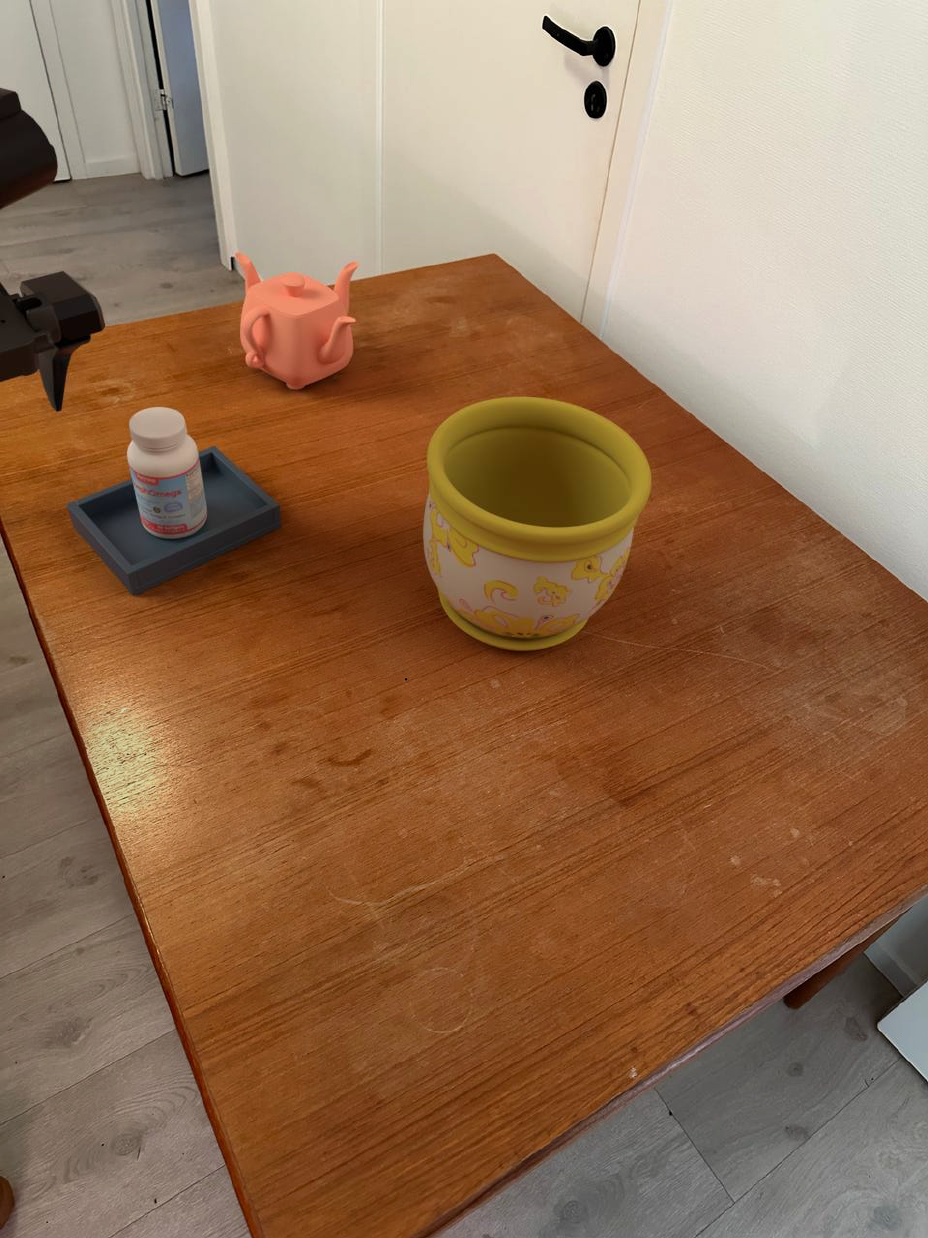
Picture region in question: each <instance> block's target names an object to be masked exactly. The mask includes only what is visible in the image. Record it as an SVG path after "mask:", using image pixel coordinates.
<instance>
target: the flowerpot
mask: <svg viewBox="0 0 928 1238" xmlns="http://www.w3.org/2000/svg"><path fill="white" fill-rule="evenodd" d="M426 467H427V472H428V488H429V490H428V495H427V499H426V503H425V509H424V514H423V525H422V536H423V537H422V543H423V551H424V557H425V562H426V565H427V568H428V571H429V575H430V576H431V579H432V581H433V582H434V585H435V586H436V588H437V593H438V598H439V602H440V604H441V606H442V608H443V610H444V612H445V614H446V615H447V616H448V618H449V619H450V620H451V622H453V623H454V624H455V626H457V627H458V628H459V629H460V630H461V631H463V632H464V633H466V634H467V635H468V636H470V637H472V638H474V639H476V640H478V641H479V642H481V643H484V644H485V645H488V646H490V647H494V648H496V649H501V650H506V651H512V652H513V651H514V652H515V651H516V652H528V651H529V652H530V651H536V650H542V649H543V650H544V649H547V648H552V647H555V646H557V645H560V644H563V643H564V642H567V641H568V640H570V639H572V638H573V637H574V636H575V635H577V634H578V633H579V632H580V631H581V630H582V629H583V628H584V627H585V625H586V624H587V622H588V620H589V619H590V617H591V616H592V615H594V614H595V613H596V612H597V611H599V609H601V608H602V606H603V605H604V604H605V603H606V602H607V600H609V598H610V597H611V595H612V594H613V593H614V591H615V589H616V588H617V586H618V584H619V583H620V581H621V578H622V576H623V573H624V572H625V568H626V566H627V563H628V559H629V555H630V552H631V548H632V544H633V543H632V542H633V537H634V529H635V526H636V524H637V522H638V519H639V516H640V514H641V513H642V511H643V510H644V508H645V507H646V505H647V503H648V500H649V497H650V494H651V489H652V472H651V467H650V464H649V461H648V459H647V457H646V455H645V453H644V451H643V450H642V449H641V447H640V446H639V445H638V443H637V442H636V441H635V439H633V437H631V435H629V434H628V432H627V431H625V430H623V429H622V427H620V426H618V425H617V424H615V423H614V422H612V421H611V420H609V419H608V418H606V417H604V416H603V415H601V414H598V413H596V412H595V411H592V410H589V409H587V408H584V407H582V406H579V405H576V404H572V403H569V402H565V401H560V400H556V399H552V398H551V399H550V398H545V397H535V396H507V397H498V398H492V399H491V398H490V399H487V400H482V401H479V402H476V403H473V404H470V405H468V406H465V407H463V408H461V409H459V410H458V411H456V412H454V413H452V414H451V415H449V416H448V417H447V418H446V419H445V420H443V421H442V423H441V424H440V425H439V426H438V427H437V428H436V429H435V431H434V433H433V434H432V437H431V438H430V441H429V444H428V447H427V452H426Z"/></svg>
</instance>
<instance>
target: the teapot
mask: <svg viewBox="0 0 928 1238" xmlns="http://www.w3.org/2000/svg"><path fill="white" fill-rule="evenodd" d="M234 256H235V258H236V260H237V262H238V263H239V265H240V266H241V269H242V272H243V276H244V285H245V297H244V301H243V305H242V310H241V316H240V327H239V331H240V332H239V336H240V337H239V338H240V344H241V345H242V348H243V350H244V352H245V354H246V355H245V364H246V365H247V367H248V368H250V369H253V370H259V369H260V370H262V371H263V372H265V373H266V374H268V375H269V376H271V377H273V378H275V379H277V380H280V381H282V382H284V383H286V386H287V388H289V389H290V390H300V389H303V388H304V387H306V386H307V385H310V384H313V383H315V382H318V381H321V380H323V379H326V378H327V377H330V376H332V375H334V374H335V373H338V372H339V371H341V370H343V369H344V368H345V367H347V366H348V364H349V363H350V361H351V359H352V356H353V353H354V340H353V339H354V338H353V334H352V328H351V324H353V323H355V322H356V318H354V317H353V316H352V317H351V316H348V314H349V311H350V310H349V309H350V285H351V284H350V283H351V280H352V277H353V275H354V273H355V271H356V270H357V268H358V267H359V266H360V262H359V261H352V262H349V263H347V264H345V266H343V267H342V269H341V270H340V272H339V273H338V276H337V278H336V281H335V284H334V288H333V289H332V288H330V287H329V286H327V285H326V284H324V283H323V282H321V281H319V280H317V279H315V278H313V277H310V276H308V275H305V274H303V273H300V272H296V271H290V272H285V273H282V274H279V275H276V276H272V277H270V278H267V279H265V280H261V278H260V276H259V273H258V271H257V269H256V267H255V265H254V263H253V262H252V260H251V259H250V258H249V257H247V256H246V255H245V254H243V253H240V252H236V253H235V254H234Z"/></svg>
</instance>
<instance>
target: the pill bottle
mask: <svg viewBox="0 0 928 1238" xmlns="http://www.w3.org/2000/svg"><path fill="white" fill-rule="evenodd" d="M128 429H129V431H130V432H129V435H130V438H131V440H130V443H129V444H128V447H127V450H126V451H127V452H126V458H127V464H128V467H129V472H130V476H131V478H132V481H133V485H134V490H135V494H136V498H137V503H138V507H139V512H140V516H141V520H142V524H143V526H144V527H145V529H146V530H147V531H148V532H149V533H151V534H153V535H154V536H157V537H160V538H165V539H179V538H184V537H187V536H190V535H192V534H194V533H196V532H197V531H198V530H199V529H200V528H201V527H202V526H203V525H204V523H205V521H206V518H207V507H206V500H205V494H204V487H203V481H202V474H201V467H200V460H199V454H198V452H199V449H198V445H197V443H196V442H195V439H193V437H192V436H190V435H189V434H188V429H187V423H186V420H185V418H184V416H183V414H182V413H181V412H180V411H179V410H176V409H173V408H170V407H163V406H155V407H154V406H153V407H148V408H145V409H141V410H139V411H138V412H136V413H134V414H133V415H132V416H131V417H130V419H129V421H128Z"/></svg>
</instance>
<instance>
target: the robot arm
mask: <svg viewBox="0 0 928 1238" xmlns="http://www.w3.org/2000/svg"><path fill="white" fill-rule="evenodd" d="M58 168H59V164H58V156H57V152H56V149H55V146H54V145H53V144H51V142H50V140H49V138H48V136H47V135H46V133H45V132H44V130H43V128H42V127H41V126H40V125H39V124H38V122H37V121H36V120H35V119H34V118H33V116H31V115H30V114H29V113H28V112H27V111H25V110H24V109H23V108H22V105H21V101H20V95H19V94H18V92H16V91H14V90H12V89H8V88H3V87H0V211H1V210H3V209H5V208H8V207H9V206H11V205H13V204H15V203H17V202H19V201H21V200H23V199H25V198H27V197H29V196H31V195H33V194H35V193H38V192H39V191H41V190H43V189H45V188H47V187H49V186H51V185H52V184H53V183H54V182H55V180H56V179H57V175H58ZM19 291H20V293H21V295H20V293H18V292H16V293H12V294H10V293H9V292H8V291H7V289H6V288H5V287H4V285H3V284H2V282H1V281H0V383H2V382H5V381H9V380H13V379H15V378H19V377H22V376H23V377H28V376H32V375H34V374H35V373H37V372H38V371H39V375H40V379H41V382H42V387H43V389H44V391H45V394H46V396H47V399H48V401H49V404H50V406H51V408H52V409H53V410H54V411H55V412H56V413H58V412H61V411H62V409H63V403H64V396H65V389H66V382H67V374H68V369H69V365H70V362H71V359H72V355H73V354H74V352H76V351H77V350H78V349H79V348H80V347H82V346H84V345H87V344H89V343H90V342H91V340H92V335H94V334H97V333H100V332H103V331H104V329H105V328H106V322H105V319H104V318H105V317H104V314H103V313H104V312H103V310H102V305H101V304H100V302H99V300H98V298H97V297H96V295H94V294H93V293H92V292H91V291H90V290H89V289H87V288H86V287H85V286H84V285H83V284H82V283H80V282H79V281H78V280H77V279H76V278H75V277H74V276H72V275H71V274H69V273H67V272H66V271H64V270H61V271H57V272H53V273H49V274H45V275H41V276H38V277H34V278H30V279H26V280H22V281H21V282H20V285H19Z"/></svg>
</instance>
